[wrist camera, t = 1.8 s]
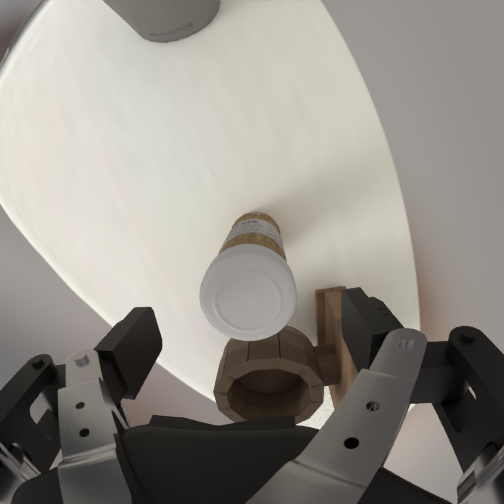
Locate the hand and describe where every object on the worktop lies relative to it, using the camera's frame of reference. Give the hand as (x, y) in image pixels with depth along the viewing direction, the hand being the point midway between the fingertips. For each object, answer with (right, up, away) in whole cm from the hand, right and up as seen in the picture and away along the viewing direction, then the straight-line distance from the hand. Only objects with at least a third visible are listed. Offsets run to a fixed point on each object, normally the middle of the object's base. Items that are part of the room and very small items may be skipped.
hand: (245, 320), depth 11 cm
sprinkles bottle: (+1, +4, +14) cm, 15 cm away
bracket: (+4, -6, +17) cm, 18 cm away
